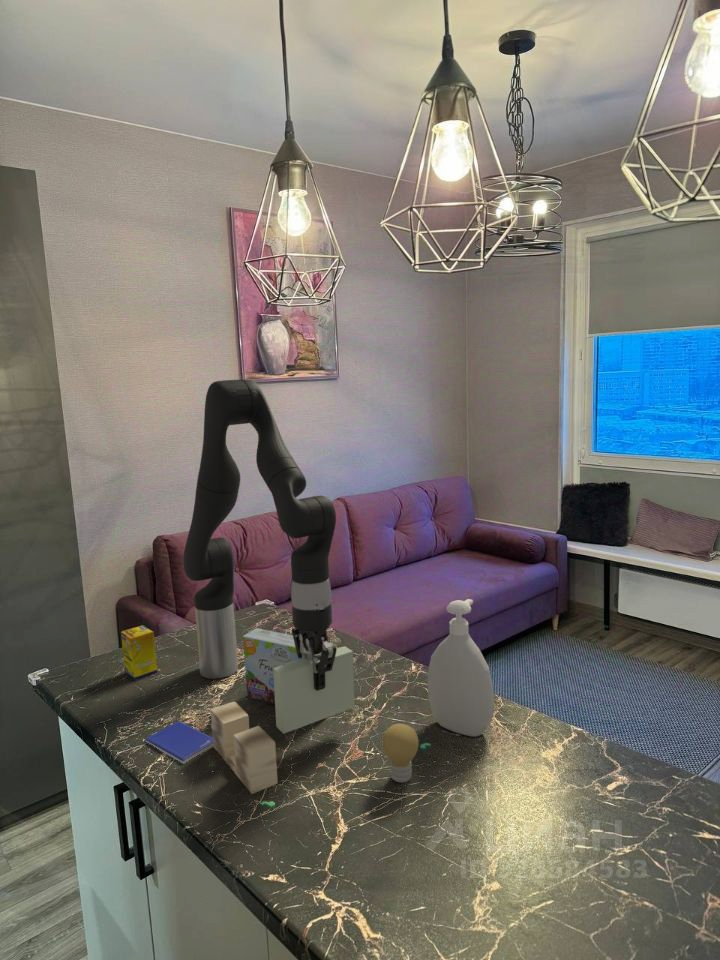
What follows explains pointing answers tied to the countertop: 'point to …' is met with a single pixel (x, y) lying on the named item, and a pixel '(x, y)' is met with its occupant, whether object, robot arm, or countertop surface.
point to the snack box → (266, 660)
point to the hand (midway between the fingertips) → (315, 684)
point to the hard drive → (181, 741)
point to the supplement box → (139, 652)
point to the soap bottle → (460, 679)
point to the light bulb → (400, 750)
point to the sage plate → (312, 691)
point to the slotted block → (244, 747)
